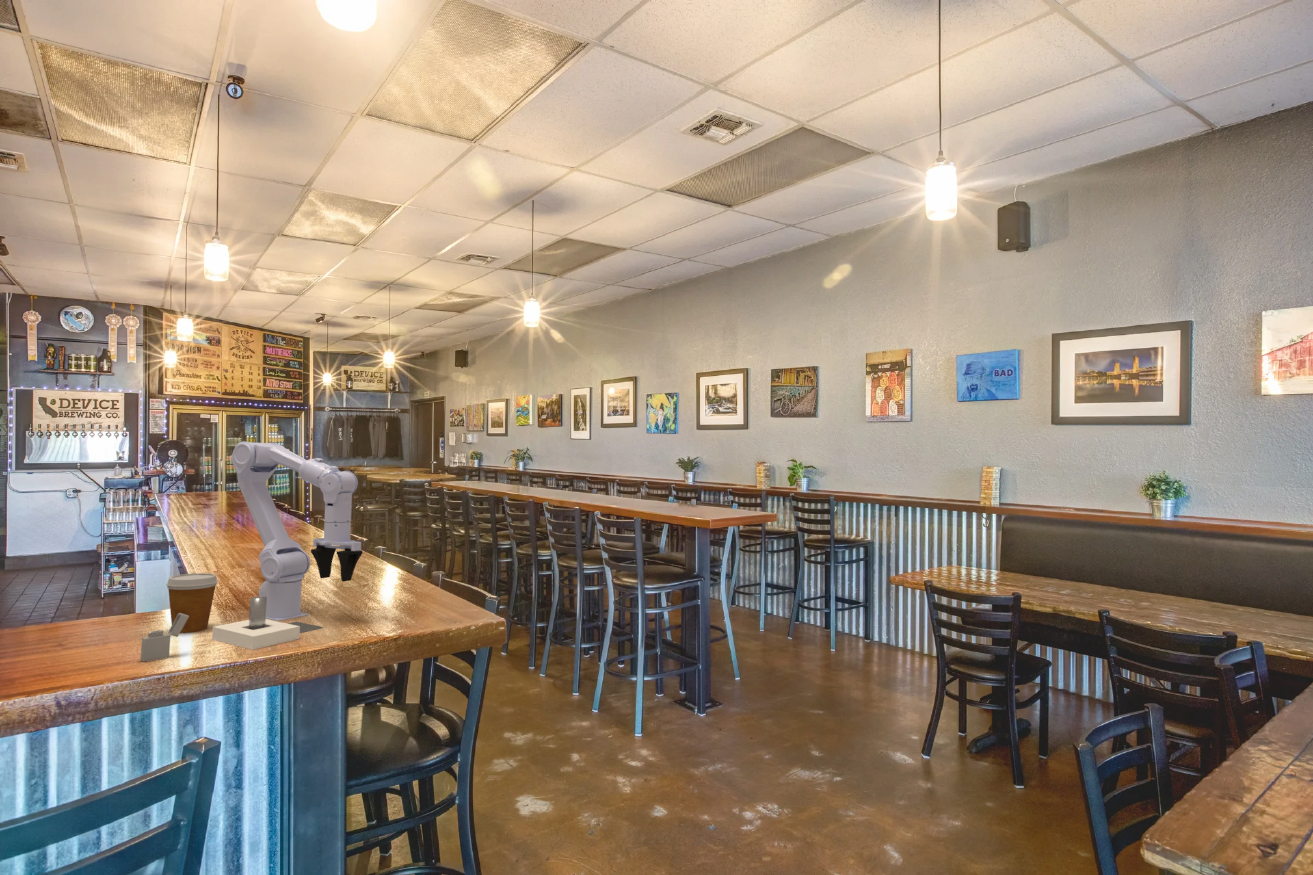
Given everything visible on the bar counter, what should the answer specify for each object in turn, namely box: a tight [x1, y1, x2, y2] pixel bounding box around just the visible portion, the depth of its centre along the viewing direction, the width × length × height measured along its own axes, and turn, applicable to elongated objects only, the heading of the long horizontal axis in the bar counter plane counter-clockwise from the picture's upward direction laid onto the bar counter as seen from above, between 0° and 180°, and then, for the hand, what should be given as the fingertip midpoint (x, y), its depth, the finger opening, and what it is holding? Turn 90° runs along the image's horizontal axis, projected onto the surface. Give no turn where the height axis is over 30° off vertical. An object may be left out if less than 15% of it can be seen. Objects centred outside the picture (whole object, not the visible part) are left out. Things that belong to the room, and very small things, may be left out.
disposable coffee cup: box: [165, 572, 219, 634], centre depth 148 cm, size 10×10×12 cm
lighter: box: [140, 613, 189, 663], centre depth 129 cm, size 7×2×8 cm, turn 144°
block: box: [211, 619, 301, 651], centre depth 142 cm, size 14×10×3 cm
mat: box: [287, 621, 326, 634], centre depth 152 cm, size 10×8×1 cm
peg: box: [248, 596, 267, 630], centre depth 142 cm, size 3×3×9 cm
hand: (335, 579), depth 160 cm, fingers open, 7 cm apart
